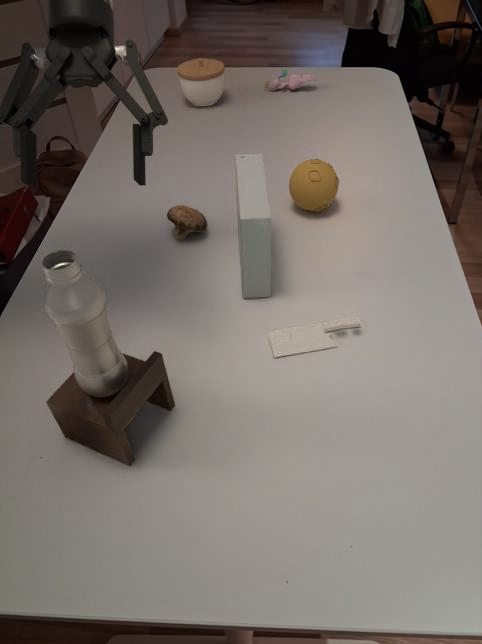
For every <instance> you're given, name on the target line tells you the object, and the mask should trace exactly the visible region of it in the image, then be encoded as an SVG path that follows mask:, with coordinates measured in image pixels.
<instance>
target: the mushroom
mask: <svg viewBox="0 0 482 644" xmlns="http://www.w3.org/2000/svg"><path fill="white" fill-rule="evenodd" d="M166 218H167V220H169V222H170V223H172V224H174V228H173V230H172V233H173V235H174V236H175V237H176V238H177V239H178V240H181V241H184V240H185V239H186V238H187V236H188V235H189V234H190V233H193V232H195V233H203V232H206V231H207V229H208V221H207V218H206V216H205V215H204V214H203V213H202V212H201V211H199V210H197V209H195V208H193V207H190V206H187V205H185V204H180V205H175V206H172V207H170V208H169V209H168V211H167V213H166Z"/></svg>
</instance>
